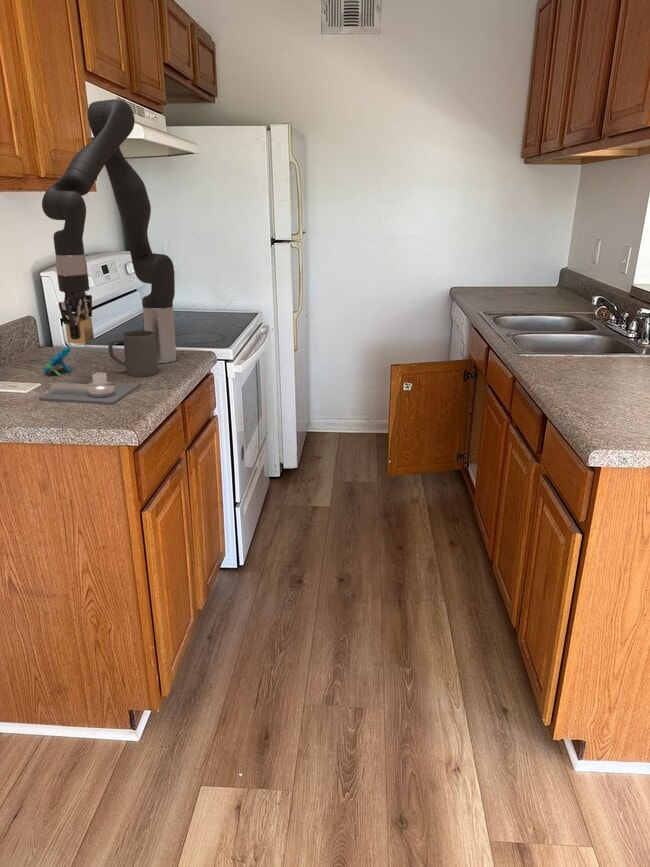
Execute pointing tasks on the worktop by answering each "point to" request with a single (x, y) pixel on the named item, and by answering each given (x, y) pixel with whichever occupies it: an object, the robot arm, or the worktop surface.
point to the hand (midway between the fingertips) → (80, 336)
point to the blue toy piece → (58, 362)
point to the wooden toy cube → (82, 331)
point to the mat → (120, 392)
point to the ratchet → (87, 387)
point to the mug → (138, 353)
